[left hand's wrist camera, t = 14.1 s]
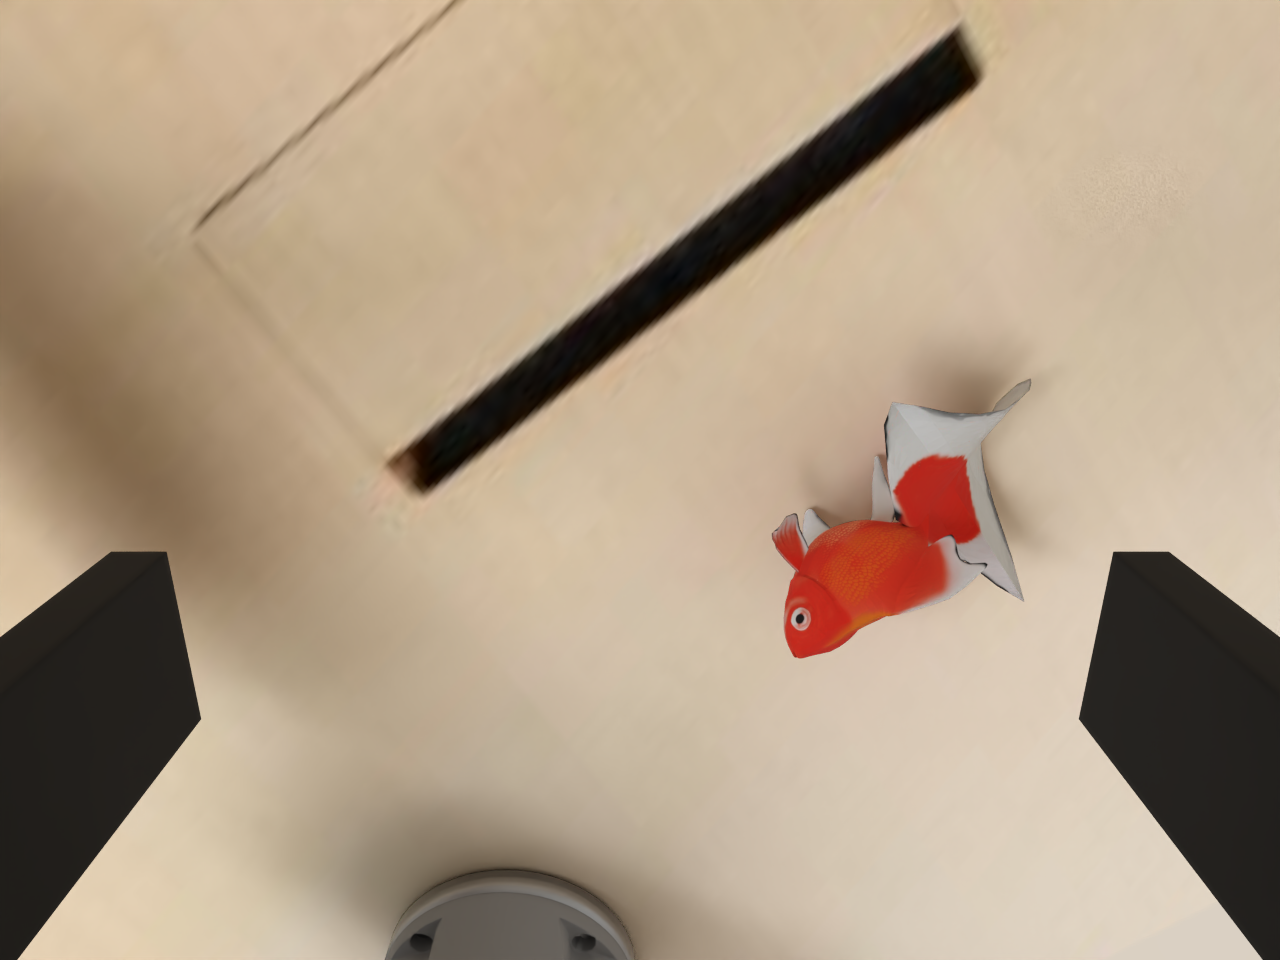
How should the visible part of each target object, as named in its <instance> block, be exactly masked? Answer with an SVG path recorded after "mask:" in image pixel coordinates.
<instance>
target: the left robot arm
mask: <svg viewBox="0 0 1280 960" xmlns="http://www.w3.org/2000/svg"><path fill="white" fill-rule="evenodd" d="M200 720H201V716H200V711H199V706H198V702H197V697H196V692H195V687H194V682H193V677H192V673H191V668H190V663H189V658H188V653H187V648H186V644H185V639H184V634H183V629H182V624H181V619H180V615H179V610H178V605H177V600H176V595H175V590H174V586H173V581H172V576H171V571H170V566H169V561H168V557H167V552H110V553H109V554H108V555H106V556H105V557H104V558H102V559H101V560H100V561H99V562H97V563H96V564H95V565H93V566H92V567H91V568H90V569H88V570H87V571H86V572H84V573H83V574H82V575H80V576H79V577H78V578H77V579H75V580H74V581H73V582H71V583H70V584H69V585H67V586H66V587H65V588H64V589H62V590H61V591H60V592H58V593H57V594H56V595H54V596H53V597H52V598H51V599H49V600H48V601H47V602H45V603H44V604H43V605H41V606H40V607H39V608H38V609H36V610H35V611H34V612H32V613H31V614H30V615H28V616H27V617H26V618H25V619H23V620H22V621H21V622H19V623H18V624H17V625H15V626H14V627H13V628H12V629H10V630H9V631H8V632H6V633H5V634H4V635H2V636H1V637H0V960H17V959H18V958H19V957H20V955H21V954H22V953H23V951H24V950H25V949H26V948H27V946H28V945H29V944H30V942H31V941H32V940H33V938H34V937H35V936H36V934H37V933H38V932H39V931H40V929H41V928H42V927H43V925H44V924H45V923H46V921H47V920H48V919H49V917H50V916H51V915H52V914H53V912H54V911H55V910H56V908H57V907H58V906H59V904H60V903H61V902H62V900H63V899H64V898H65V897H66V895H67V894H68V893H69V891H70V890H71V889H72V887H73V886H74V885H75V883H76V882H77V881H78V880H79V878H80V877H81V876H82V874H83V873H84V872H85V870H86V869H87V868H88V866H89V865H90V864H91V862H92V861H93V860H94V859H95V857H96V856H97V855H98V853H99V852H100V851H101V849H102V848H103V847H104V845H105V844H106V843H107V842H108V840H109V839H110V838H111V836H112V835H113V834H114V832H115V831H116V830H117V828H118V827H119V826H120V825H121V823H122V822H123V821H124V819H125V818H126V817H127V815H128V814H129V813H130V811H131V810H132V809H133V808H134V806H135V805H136V804H137V802H138V801H139V800H140V798H141V797H142V796H143V794H144V793H145V792H146V791H147V789H148V788H149V787H150V785H151V784H152V783H153V781H154V780H155V779H156V777H157V776H158V775H159V774H160V772H161V771H162V770H163V768H164V767H165V766H166V764H167V763H168V762H169V760H170V759H171V758H172V756H173V755H174V754H175V753H176V751H177V750H178V749H179V747H180V746H181V745H182V743H183V742H184V741H185V739H186V738H187V737H188V736H189V734H190V733H191V732H192V730H193V729H194V728H195V726H196V725H197V724H198V722H199V721H200ZM1079 720H1080V721H1081V722H1082V724H1083V725H1084V726H1085V728H1086V729H1087V730H1088V732H1089V733H1090V734H1091V736H1092V737H1093V738H1094V739H1095V741H1096V742H1097V743H1098V745H1099V746H1100V747H1101V749H1102V750H1103V751H1104V753H1105V754H1106V755H1107V756H1108V758H1109V759H1110V760H1111V762H1112V763H1113V764H1114V766H1115V767H1116V768H1117V770H1118V771H1119V772H1120V774H1121V775H1122V776H1123V777H1124V779H1125V780H1126V781H1127V783H1128V784H1129V785H1130V787H1131V788H1132V789H1133V791H1134V792H1135V793H1136V794H1137V796H1138V797H1139V798H1140V800H1141V801H1142V802H1143V804H1144V805H1145V806H1146V808H1147V809H1148V810H1149V811H1150V813H1151V814H1152V815H1153V817H1154V818H1155V819H1156V821H1157V822H1158V823H1159V825H1160V826H1161V827H1162V828H1163V830H1164V831H1165V832H1166V834H1167V835H1168V836H1169V838H1170V839H1171V840H1172V842H1173V843H1174V844H1175V845H1176V847H1177V848H1178V849H1179V851H1180V852H1181V853H1182V855H1183V856H1184V857H1185V859H1186V860H1187V861H1188V863H1189V864H1190V865H1191V866H1192V868H1193V869H1194V870H1195V872H1196V873H1197V874H1198V876H1199V877H1200V878H1201V880H1202V881H1203V882H1204V883H1205V885H1206V886H1207V887H1208V889H1209V890H1210V891H1211V893H1212V894H1213V895H1214V897H1215V898H1216V899H1217V900H1218V902H1219V903H1220V904H1221V906H1222V907H1223V908H1224V909H1225V911H1226V912H1227V914H1228V915H1229V916H1230V917H1231V919H1232V920H1233V921H1234V923H1235V924H1236V925H1237V927H1238V928H1239V929H1240V931H1241V932H1242V933H1243V934H1244V936H1245V937H1246V938H1247V940H1248V941H1249V942H1250V944H1251V945H1252V946H1253V948H1254V949H1255V950H1256V951H1257V953H1258V954H1259V955H1260V957H1261V958H1262V959H1263V960H1280V637H1279V636H1278V635H1276V634H1275V633H1274V632H1272V631H1271V630H1270V629H1268V628H1267V627H1266V626H1265V625H1263V624H1262V623H1261V622H1259V621H1258V620H1257V619H1255V618H1254V617H1253V616H1252V615H1250V614H1249V613H1248V612H1246V611H1245V610H1244V609H1242V608H1241V607H1240V606H1239V605H1237V604H1236V603H1235V602H1233V601H1232V600H1231V599H1229V598H1228V597H1227V596H1226V595H1224V594H1223V593H1222V592H1220V591H1219V590H1218V589H1216V588H1215V587H1214V586H1213V585H1211V584H1210V583H1209V582H1207V581H1206V580H1205V579H1203V578H1202V577H1201V576H1200V575H1198V574H1197V573H1196V572H1194V571H1193V570H1192V569H1190V568H1189V567H1188V566H1187V565H1185V564H1184V563H1183V562H1181V561H1180V560H1179V559H1178V558H1176V557H1175V556H1174V555H1172V554H1171V553H1170V552H1113V557H1112V561H1111V566H1110V571H1109V576H1108V581H1107V586H1106V590H1105V595H1104V600H1103V605H1102V610H1101V615H1100V619H1099V624H1098V629H1097V634H1096V639H1095V644H1094V648H1093V653H1092V658H1091V663H1090V668H1089V673H1088V677H1087V682H1086V687H1085V692H1084V697H1083V702H1082V706H1081V711H1080V716H1079ZM385 960H635V955H634V950H633V946H632V943H631V940H630V938H629V936H628V934H627V932H626V930H625V928H624V927H623V925H622V924H621V922H620V921H619V919H618V918H617V917H616V916H615V914H614V913H613V912H612V911H611V910H610V909H609V908H608V907H607V906H606V905H604V904H603V903H602V902H601V901H600V900H598V899H597V898H596V897H594V896H593V895H591V894H590V893H588V892H587V891H585V890H583V889H581V888H579V887H578V886H575V885H573V884H571V883H569V882H566V881H564V880H561V879H558V878H555V877H552V876H548V875H544V874H539V873H534V872H528V871H519V870H493V871H485V872H478V873H473V874H468V875H465V876H461V877H458V878H455V879H452V880H450V881H447V882H445V883H443V884H441V885H439V886H437V887H435V888H433V889H432V890H430V891H428V892H427V893H425V894H424V895H423V896H421V897H420V898H419V899H417V900H416V901H415V902H414V903H413V904H412V905H411V906H410V907H409V908H408V910H407V911H406V912H405V913H404V914H403V916H402V917H401V919H400V920H399V922H398V924H397V926H396V928H395V930H394V933H393V936H392V938H391V942H390V945H389V948H388V951H387V954H386V958H385Z"/></svg>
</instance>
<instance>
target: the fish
mask: <svg viewBox="0 0 1280 960" xmlns="http://www.w3.org/2000/svg"><path fill="white" fill-rule="evenodd" d="M1030 386H1031V379H1029V380H1026V381H1024V382H1021V383H1019V384H1017V385H1016V386H1015V387H1014V388H1013V389H1012V390H1010V391H1009V392H1008V393H1007V394H1006V395H1005V396H1004V397H1003V398H1002V399H1001V400H1000V401H999V402H997V404H996V405H995V407H994V409H993V411H992V412H988V413H983V414H968V413H948V412H944V411H939V410H935V409H930V408H926V407H921V406H914V405H907V404H901V403H894V402H892V405H891V408H890V410H889V413H888V416H887V418H886V421H885V424H884V431H885V443H886V455H887V468H888V479H889V485H890V489H889V486H888V483H887V481H886V478H885V475H884V472H883V469H882V466H881V463H880V459H879V457H878V456H876V457H875V460H874V471H873V480H872V503H873V509H872V517H871V520H858V521H852V522H848V523H844V524H841V525H838V526H835V527H832V528H830V527H829V526H828V525H827V524H826V523H825V522H824V521H822V520H821V519H820V518H819V517H818V515H817V514H816V513H815V512H814V511H813V510H812V509H808V510H807V511H806V512H805V515H804V522H803V534H802V532H801V530H800V527H799V523H798V517H797V514H795V513H794V514H791V515H789V516H786V518H785V519H784V521H783V522H782V524H781V525H780V527H778V528H777V529H776V530H775V531H774V532H773V533H772V539H773V541H774V543H775V545H776V549H777V550H778V552H779V553H780V554H781V555H782V557H783V558H784V559H785V560H786V561H787V562H788V563H789V564H790V565H791V566H792V567H793V568H794V569H795V570H796V571H795V574H794V577H793V579H792V580H791V582H790V586H789V591H788V596H787V599H786V603H785V613H784V632H785V637H786V640H787V643H788V646H789V648H790V650H791V652H792V654H793V656H794V657H797V658H805V657H808V656H812V655H817V654H821V653H826V652H830V651H832V650H834V649H836V648H838V647H840V646H841V645H843V644H844V643H845V642H847V641H848V640H849V639H850V638H851V637H852V636H853V635H854V634H855V633H856V632H857V631H858V630H859V629H860V628H862V627H864V626H866V625H868V624H871V623H873V622H875V621H877V620H879V619H881V618H883V617H885V616H893V615H898V614H902V613H906V612H910V611H913V610H917V609H920V608H923V607H927V606H930V605H933V604H936V603H939V602H941V601H944V600H947V599H950V598H951V597H952V596H954V595H955V594H956V593H958V592H959V591H960V590H962V589H963V588H965V587H966V586H967V585H968V584H969V583H970V582H971V581H972V580H973V579H975V578H976V577H977V576H978V575H979V574H980V573H981V574H983V575H984V576H985V577H986V578H988V579H989V580H990V581H991V582H993V583H994V584H995V585H997V586H998V587H1000V588H1002V589H1003V590H1005V591H1007V592H1008V593H1010V594H1012V595H1013V596H1015V597H1017V598H1019V599H1020V600H1022V601H1024V599H1023V596H1022V592H1021V588H1020V585H1019V581H1018V578H1017V574H1016V570H1015V567H1014V563H1013V560H1012V556H1011V553H1010V550H1009V547H1008V544H1007V541H1006V538H1005V535H1004V532H1003V529H1002V527H1001V524H1000V521H999V518H998V515H997V512H996V509H995V506H994V502H993V499H992V495H991V492H990V488H989V485H988V481H987V478H986V474H985V471H984V464H983V457H982V450H981V442H982V441H983V439H984V438H985V437H986V436H987V435H988V434H989V432H990V431H991V430H992V429H993V428H994V427H995V426H996V425H997V424H998V423H999V422H1000V421H1001V419H1002V418H1003V417H1004V416H1005V415H1006V414H1007V413H1008V411H1009V410H1010V409H1011V408H1012V407H1013V406H1014V405H1015V404H1016V403H1017V402H1018V401H1019V400H1020V399H1021V398H1022V397H1023V396H1024V395H1025V394H1026V393H1027V392H1028V391H1029V390H1030ZM894 516H895V518H896V520H897V521H899V522H897V523H895V522H892V521H893V519H894ZM964 561H966V562H964Z"/></svg>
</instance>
